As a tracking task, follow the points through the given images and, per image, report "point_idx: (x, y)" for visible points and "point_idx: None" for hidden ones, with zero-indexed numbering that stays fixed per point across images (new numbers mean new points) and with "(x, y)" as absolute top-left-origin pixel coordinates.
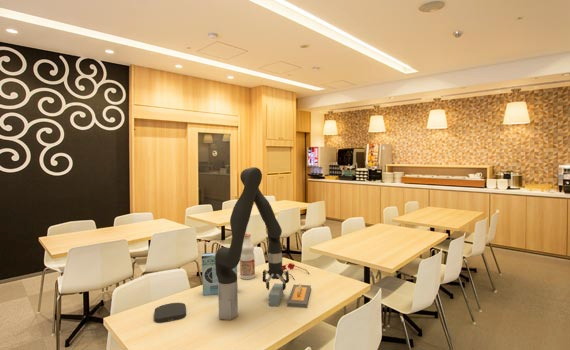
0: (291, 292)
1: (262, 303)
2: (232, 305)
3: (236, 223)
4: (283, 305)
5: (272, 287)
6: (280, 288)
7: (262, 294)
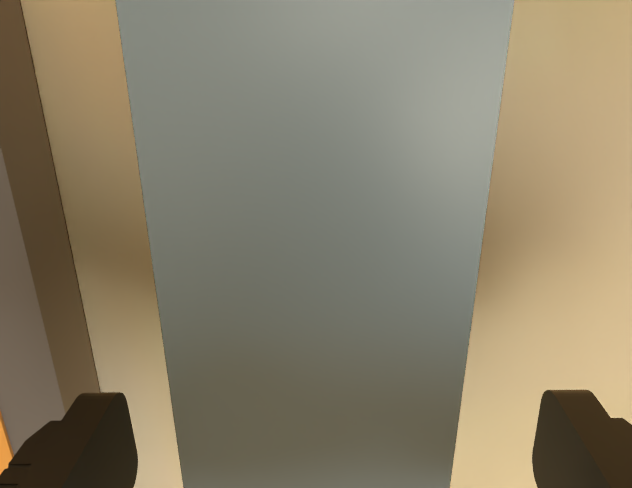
0: None
1: (596, 67)
2: None
3: None
4: (114, 34)
5: (445, 485)
6: (197, 450)
7: None
